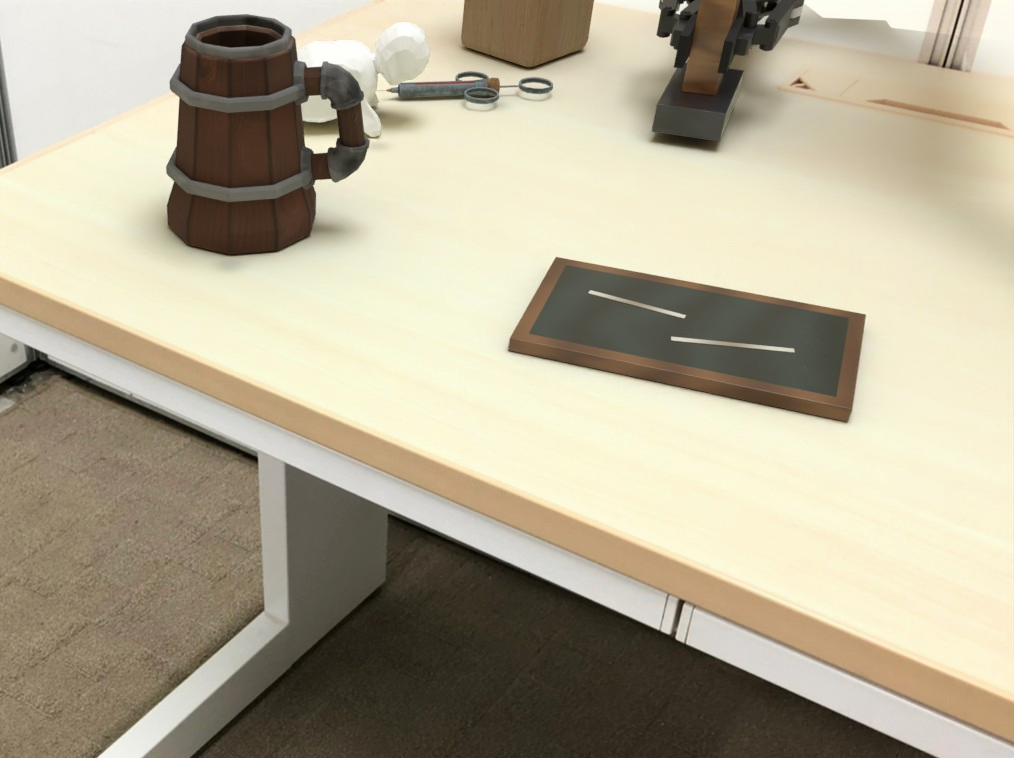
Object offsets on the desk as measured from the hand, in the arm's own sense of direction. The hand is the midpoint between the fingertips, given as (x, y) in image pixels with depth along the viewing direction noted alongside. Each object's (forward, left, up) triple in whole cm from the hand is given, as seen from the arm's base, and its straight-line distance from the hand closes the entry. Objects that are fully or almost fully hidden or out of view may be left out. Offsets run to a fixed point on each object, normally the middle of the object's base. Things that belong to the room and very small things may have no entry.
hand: (703, 54), depth 107 cm
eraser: (0, -5, -7) cm, 9 cm away
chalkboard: (-6, +35, -8) cm, 36 cm away
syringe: (+22, -3, -8) cm, 24 cm away
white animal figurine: (+30, +7, -8) cm, 32 cm away
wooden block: (+20, -19, -8) cm, 29 cm away
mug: (+28, +30, -8) cm, 41 cm away
